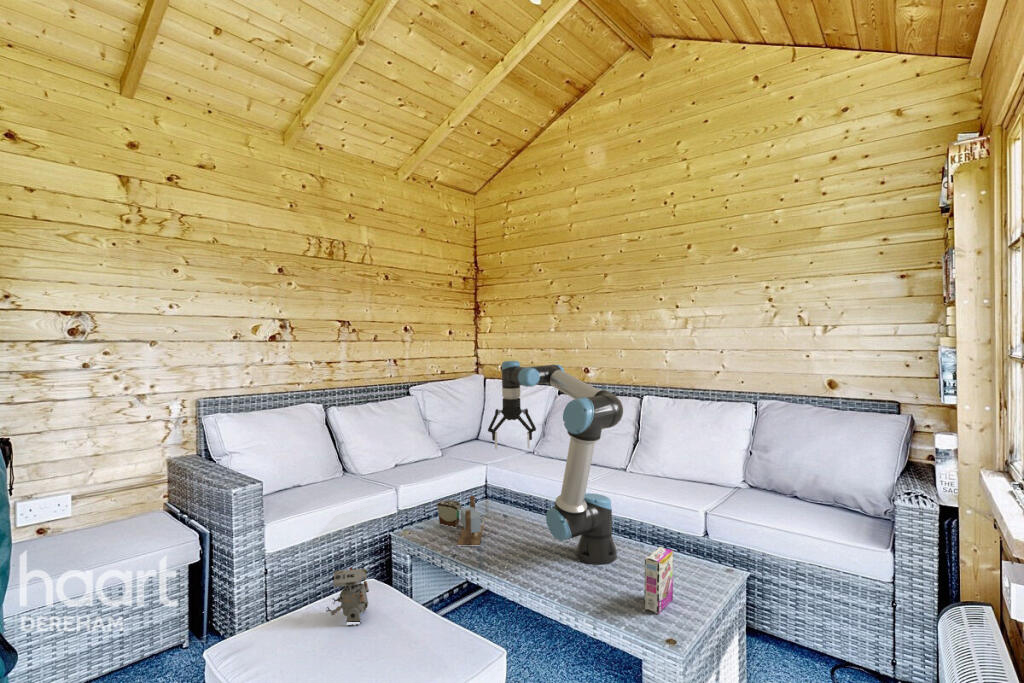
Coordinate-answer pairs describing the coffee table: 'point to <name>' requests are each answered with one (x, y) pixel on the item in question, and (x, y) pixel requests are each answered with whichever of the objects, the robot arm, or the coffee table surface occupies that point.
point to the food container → (449, 512)
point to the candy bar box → (658, 580)
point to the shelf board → (472, 519)
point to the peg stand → (469, 529)
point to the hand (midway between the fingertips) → (512, 448)
